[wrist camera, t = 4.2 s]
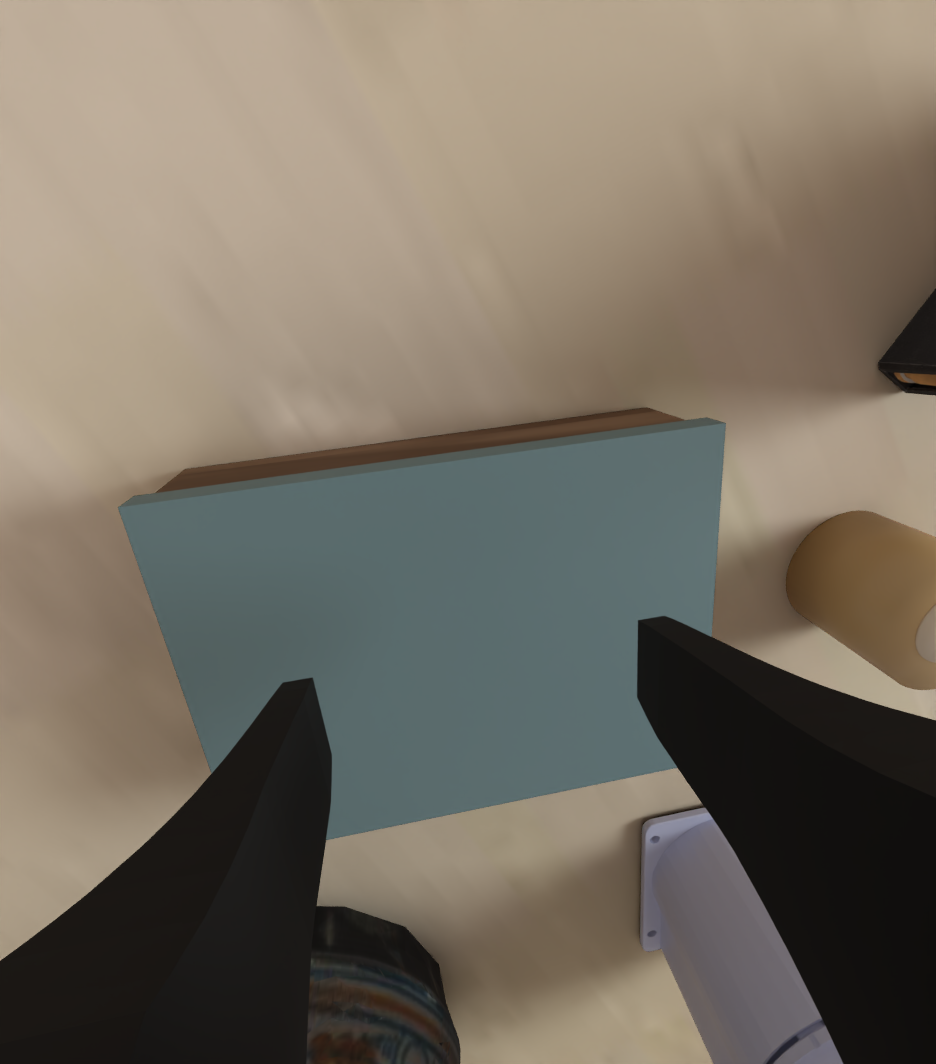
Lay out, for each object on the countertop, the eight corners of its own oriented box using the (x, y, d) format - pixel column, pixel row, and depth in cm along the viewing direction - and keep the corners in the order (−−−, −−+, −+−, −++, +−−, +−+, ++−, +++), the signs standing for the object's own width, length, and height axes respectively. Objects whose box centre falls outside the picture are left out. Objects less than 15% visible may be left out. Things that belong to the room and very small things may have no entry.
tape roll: (885, 610, 25) (1001, 676, 21) (779, 629, 25) (873, 702, 20) (907, 502, 23) (1040, 548, 19) (793, 520, 23) (900, 573, 18)
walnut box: (642, 682, 25) (682, 737, 21) (269, 752, 23) (252, 824, 20) (647, 407, 20) (699, 424, 17) (184, 469, 18) (144, 501, 15)
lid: (688, 743, 21) (703, 762, 20) (247, 832, 20) (241, 857, 19) (706, 417, 17) (725, 423, 16) (133, 495, 15) (118, 507, 14)
